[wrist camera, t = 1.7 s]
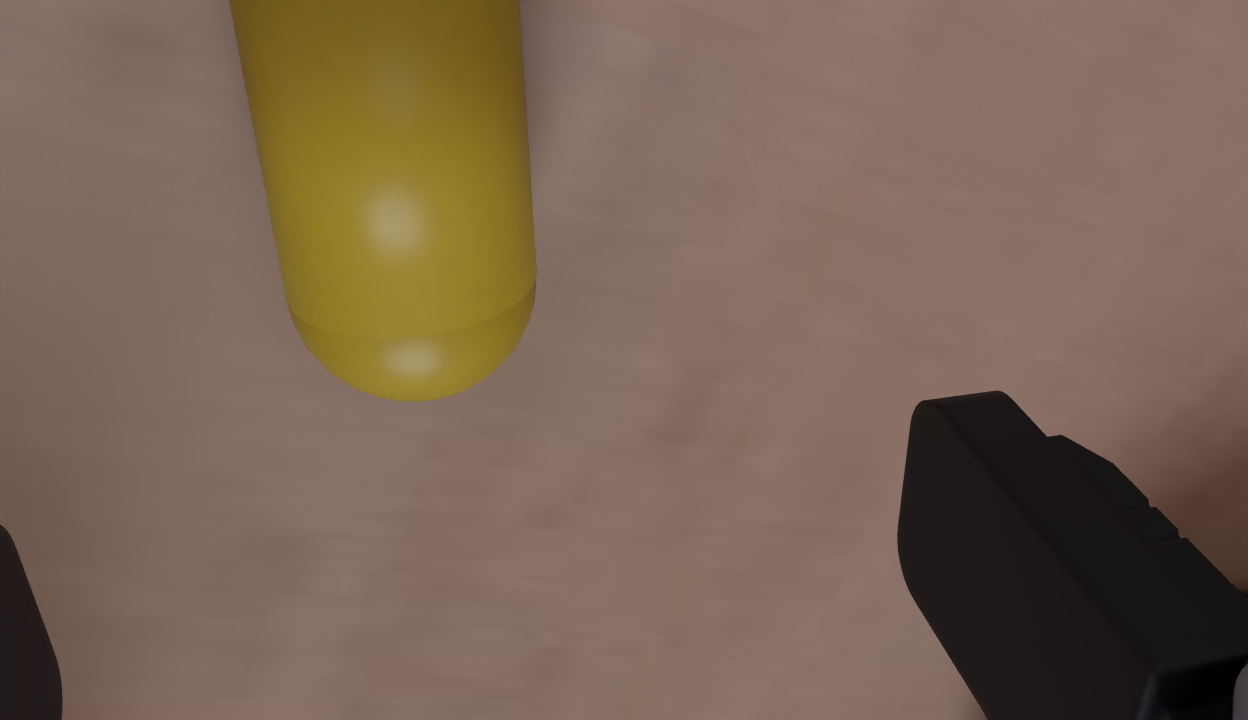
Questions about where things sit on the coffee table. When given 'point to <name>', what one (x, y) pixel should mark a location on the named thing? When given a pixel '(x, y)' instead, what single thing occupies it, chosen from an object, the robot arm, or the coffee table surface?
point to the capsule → (396, 183)
